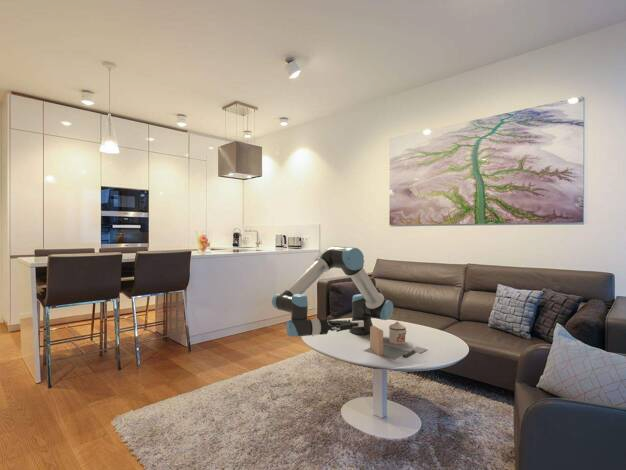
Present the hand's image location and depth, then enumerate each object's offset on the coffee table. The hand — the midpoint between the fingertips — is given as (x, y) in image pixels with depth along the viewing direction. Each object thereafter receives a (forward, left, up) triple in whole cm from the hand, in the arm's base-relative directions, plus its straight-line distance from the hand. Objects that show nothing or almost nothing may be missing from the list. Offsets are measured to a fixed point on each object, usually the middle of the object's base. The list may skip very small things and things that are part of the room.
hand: (362, 323), depth 174 cm
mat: (+7, +12, -16) cm, 21 cm away
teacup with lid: (+4, +31, -16) cm, 35 cm away
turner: (+18, +21, -16) cm, 32 cm away
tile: (+4, +7, -15) cm, 17 cm away
